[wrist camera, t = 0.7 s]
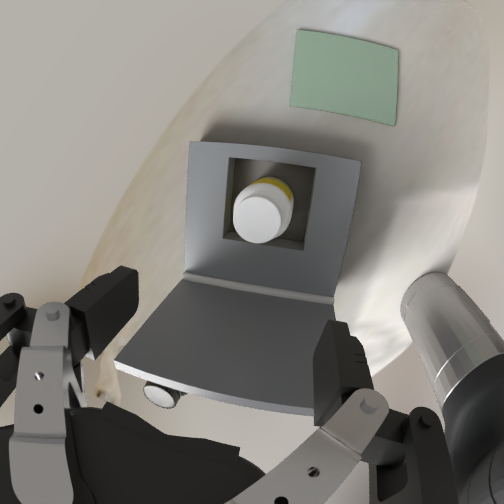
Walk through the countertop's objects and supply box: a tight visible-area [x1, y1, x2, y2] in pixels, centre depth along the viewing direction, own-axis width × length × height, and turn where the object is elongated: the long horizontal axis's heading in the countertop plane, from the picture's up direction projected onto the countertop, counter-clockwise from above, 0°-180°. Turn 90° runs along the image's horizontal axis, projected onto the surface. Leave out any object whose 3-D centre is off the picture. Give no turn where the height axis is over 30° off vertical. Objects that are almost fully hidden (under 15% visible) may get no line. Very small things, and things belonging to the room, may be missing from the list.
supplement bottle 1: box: [143, 380, 188, 409], centre depth 36 cm, size 7×7×12 cm
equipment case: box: [114, 141, 361, 416], centre depth 23 cm, size 18×17×19 cm
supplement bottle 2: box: [233, 177, 294, 243], centre depth 27 cm, size 5×5×10 cm
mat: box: [290, 30, 398, 126], centre depth 24 cm, size 12×10×1 cm
